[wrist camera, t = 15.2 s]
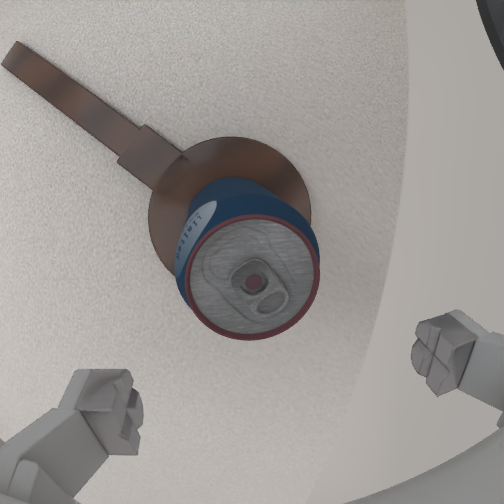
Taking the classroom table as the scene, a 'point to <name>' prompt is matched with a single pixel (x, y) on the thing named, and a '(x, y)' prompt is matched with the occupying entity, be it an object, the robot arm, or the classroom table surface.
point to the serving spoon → (161, 153)
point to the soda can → (246, 260)
